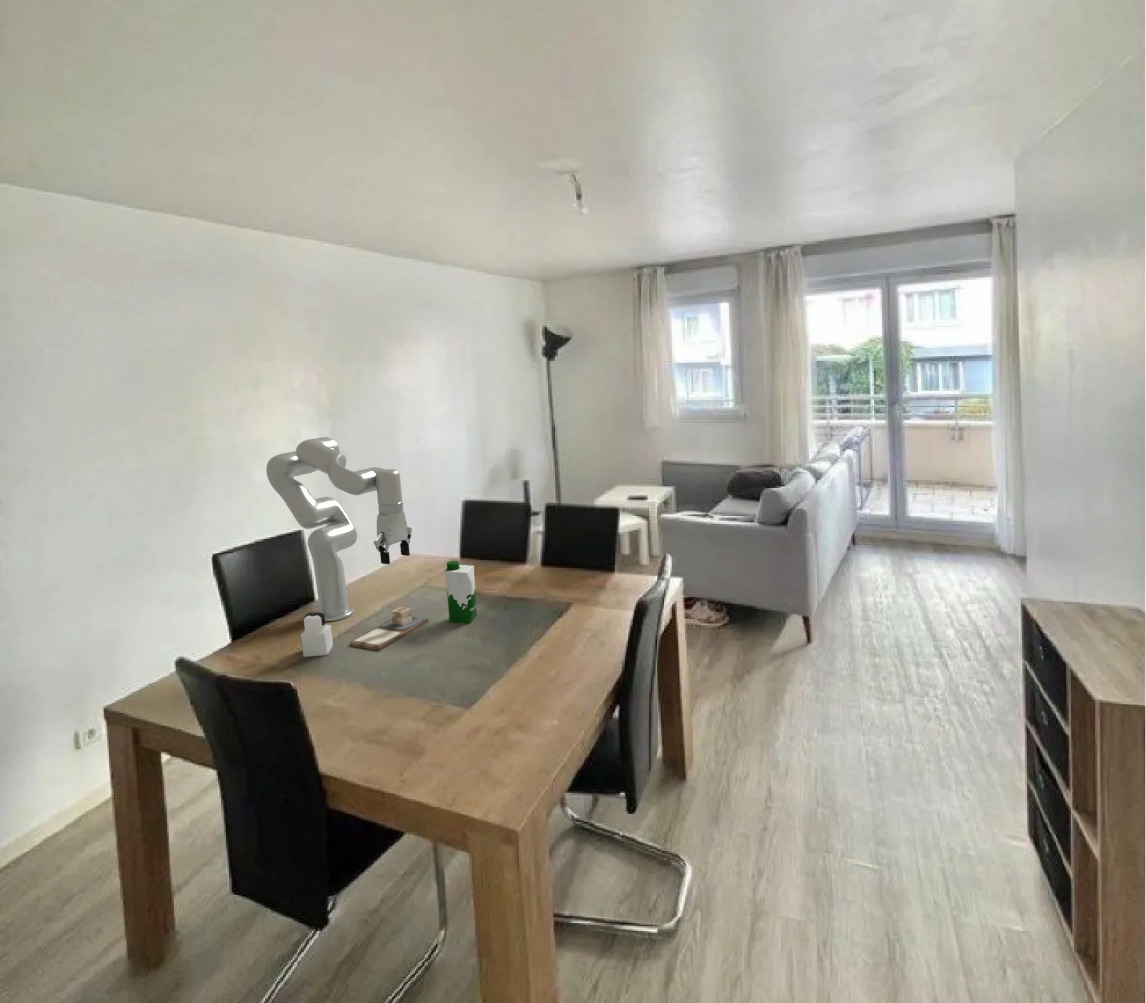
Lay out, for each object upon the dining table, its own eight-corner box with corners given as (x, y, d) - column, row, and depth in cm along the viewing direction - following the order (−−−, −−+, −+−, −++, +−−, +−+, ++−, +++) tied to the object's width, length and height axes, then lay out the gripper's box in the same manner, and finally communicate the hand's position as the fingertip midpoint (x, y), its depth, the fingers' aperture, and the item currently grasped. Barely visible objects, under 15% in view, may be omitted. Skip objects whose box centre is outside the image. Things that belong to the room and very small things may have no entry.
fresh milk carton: (455, 613, 228) (450, 558, 224) (480, 614, 226) (476, 559, 222) (446, 623, 220) (441, 566, 216) (471, 624, 218) (467, 567, 214)
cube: (392, 624, 218) (391, 611, 217) (401, 619, 222) (400, 606, 221) (403, 626, 216) (401, 613, 215) (412, 621, 220) (410, 608, 219)
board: (349, 645, 206) (349, 641, 206) (400, 617, 227) (399, 613, 227) (380, 650, 201) (379, 646, 201) (428, 621, 222) (428, 618, 222)
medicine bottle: (310, 647, 205) (305, 611, 203) (333, 645, 206) (329, 609, 203) (303, 657, 198) (297, 620, 196) (327, 655, 199) (322, 618, 197)
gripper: (399, 501, 220) (403, 551, 224) (362, 513, 205) (368, 566, 208) (417, 503, 217) (421, 553, 221) (381, 515, 202) (386, 568, 205)
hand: (395, 559), depth 214 cm, fingers open, 9 cm apart
